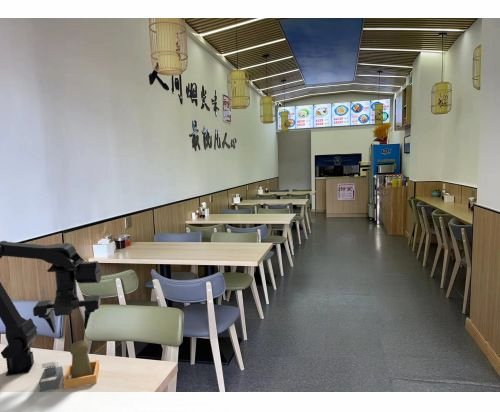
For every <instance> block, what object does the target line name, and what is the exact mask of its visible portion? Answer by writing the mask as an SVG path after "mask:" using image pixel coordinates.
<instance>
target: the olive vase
mask: <svg viewBox="0 0 500 412" xmlns="http://www.w3.org/2000/svg"><path fill="white" fill-rule="evenodd" d="M88 351H89V343H88V341H86V340H77V341H74V342H73V343H71V345H70V347H69V352H70V354H71V365H72V374H71V379H72V378H78V377H83V376H89V375H93V373H92V369H91V365H90V362H91V361H90V357H89V353H88Z"/></svg>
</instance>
